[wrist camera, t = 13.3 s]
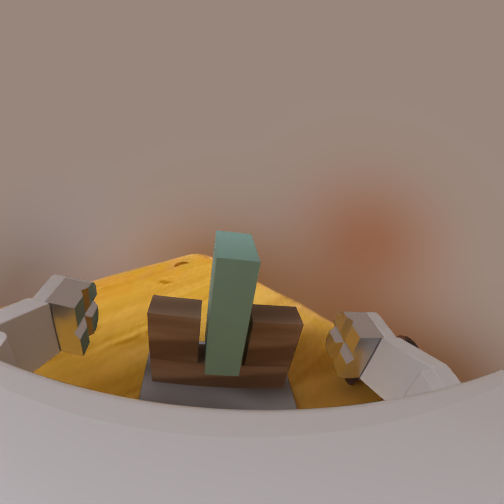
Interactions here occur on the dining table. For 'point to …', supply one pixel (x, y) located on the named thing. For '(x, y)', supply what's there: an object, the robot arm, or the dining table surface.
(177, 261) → the dining table surface
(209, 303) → the teal green rectangular block
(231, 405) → the walnut slotted plate
